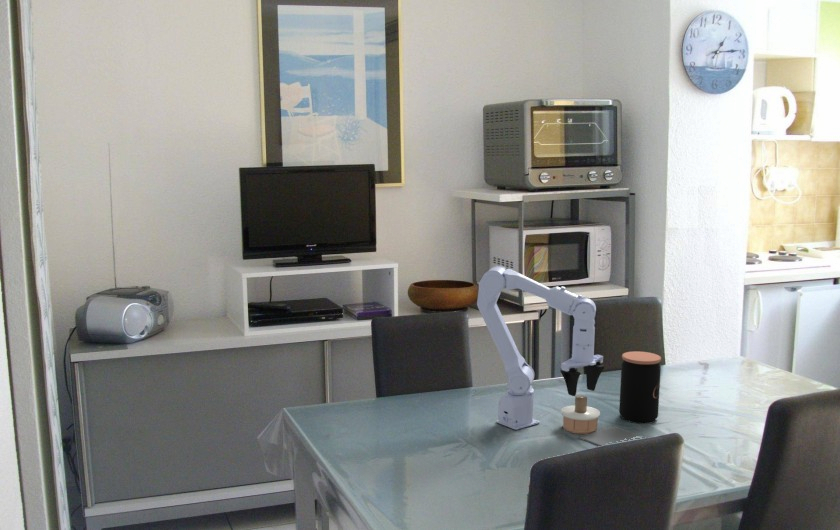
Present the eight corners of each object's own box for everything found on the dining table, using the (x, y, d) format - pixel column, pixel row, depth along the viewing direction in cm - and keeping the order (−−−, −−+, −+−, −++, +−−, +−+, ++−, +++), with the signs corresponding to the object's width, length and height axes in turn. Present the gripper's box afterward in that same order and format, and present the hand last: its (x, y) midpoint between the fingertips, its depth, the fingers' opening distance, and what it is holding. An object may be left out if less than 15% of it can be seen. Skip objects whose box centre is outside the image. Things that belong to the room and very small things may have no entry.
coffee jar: (659, 425, 234) (662, 362, 232) (619, 422, 236) (622, 359, 234) (656, 413, 245) (659, 352, 242) (618, 410, 247) (621, 350, 244)
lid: (582, 423, 224) (582, 405, 223) (553, 412, 232) (553, 395, 231) (608, 415, 230) (608, 398, 229) (578, 405, 238) (579, 389, 237)
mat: (611, 450, 215) (611, 449, 215) (578, 438, 224) (578, 436, 224) (646, 439, 224) (646, 437, 224) (613, 427, 232) (613, 426, 232)
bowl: (581, 436, 225) (581, 422, 225) (556, 427, 232) (556, 413, 232) (603, 429, 231) (604, 415, 230) (578, 420, 238) (579, 406, 237)
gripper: (576, 350, 220) (574, 401, 222) (612, 342, 229) (610, 391, 231) (556, 345, 226) (554, 394, 228) (592, 337, 235) (590, 384, 237)
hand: (581, 392), depth 230 cm, fingers open, 7 cm apart
